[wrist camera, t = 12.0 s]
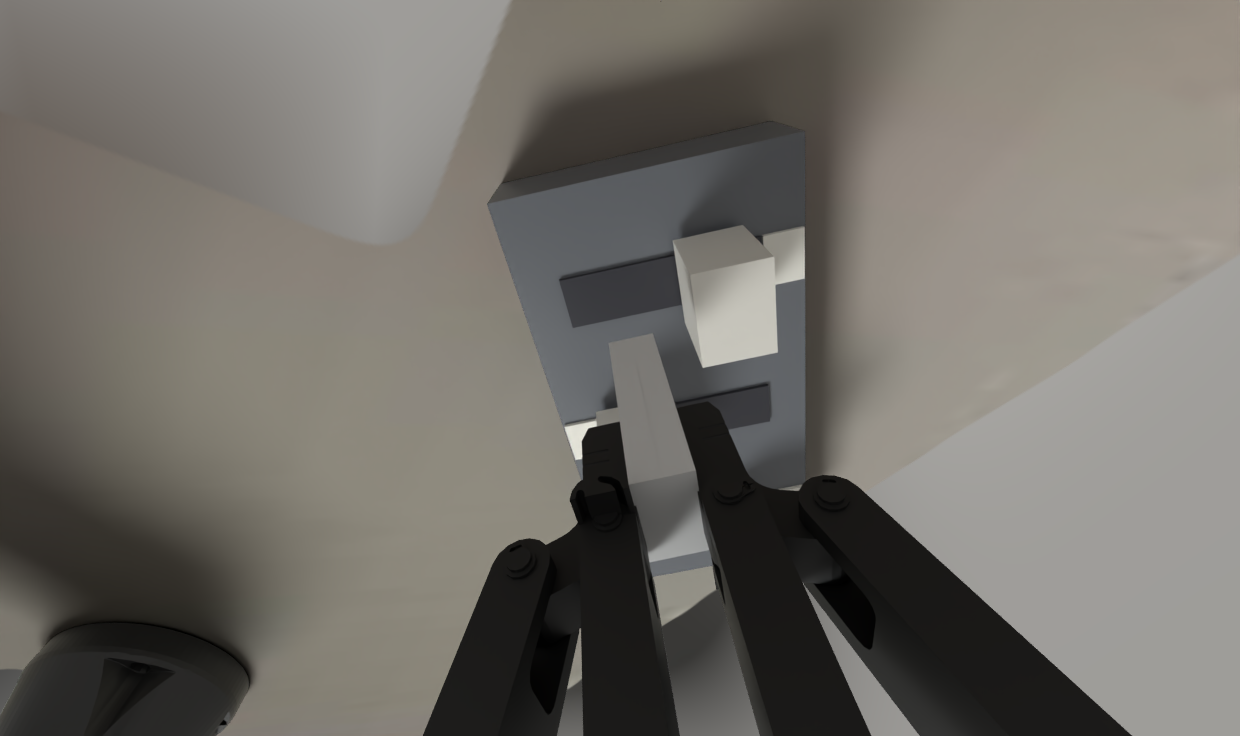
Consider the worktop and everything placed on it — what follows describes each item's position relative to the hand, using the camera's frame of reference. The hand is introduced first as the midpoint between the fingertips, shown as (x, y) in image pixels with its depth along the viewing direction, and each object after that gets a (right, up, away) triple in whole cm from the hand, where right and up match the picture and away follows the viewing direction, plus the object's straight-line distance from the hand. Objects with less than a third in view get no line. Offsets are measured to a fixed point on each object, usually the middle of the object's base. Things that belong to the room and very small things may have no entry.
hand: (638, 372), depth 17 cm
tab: (+3, +4, +5) cm, 7 cm away
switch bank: (+3, 0, +13) cm, 13 cm away
